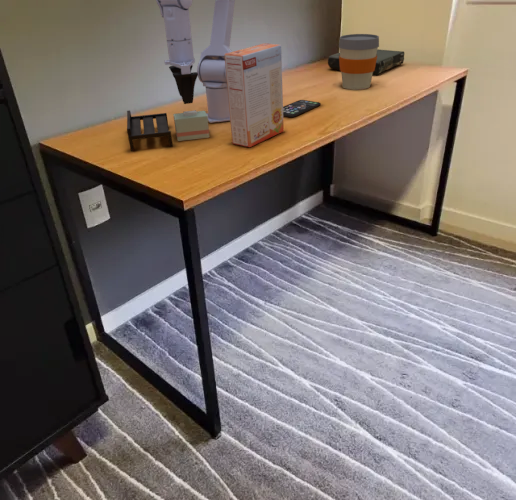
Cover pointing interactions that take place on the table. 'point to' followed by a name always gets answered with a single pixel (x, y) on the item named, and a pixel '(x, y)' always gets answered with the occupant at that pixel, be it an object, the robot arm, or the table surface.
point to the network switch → (383, 60)
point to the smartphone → (298, 107)
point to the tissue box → (191, 125)
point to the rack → (147, 127)
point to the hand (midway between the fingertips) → (186, 99)
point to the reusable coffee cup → (357, 59)
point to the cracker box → (255, 93)
